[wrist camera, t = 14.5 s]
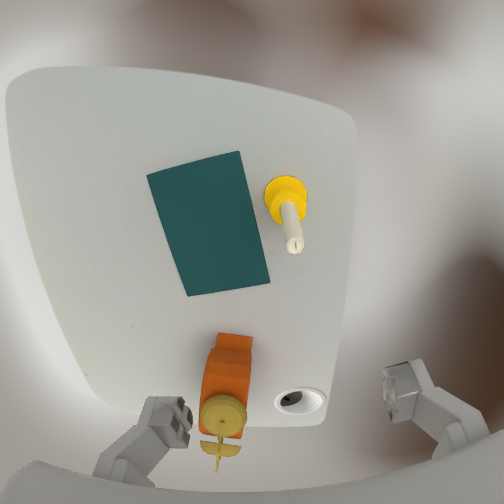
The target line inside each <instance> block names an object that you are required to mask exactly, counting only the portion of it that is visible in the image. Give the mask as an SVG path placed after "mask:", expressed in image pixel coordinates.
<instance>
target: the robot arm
mask: <svg viewBox="0 0 504 504" xmlns="http://www.w3.org/2000/svg"><path fill="white" fill-rule="evenodd" d="M383 375H384V378H385V379H384V380H383V395H384V399H385V403H387V404H388V405H389V408H388V413H389V416H390V419H391V423H392V424H395V423H399V422H403V421H407V420H410V419H412V421H413V422H415V423H416V424H417V425H418V426H419V427H421V428H422V429H423V430H424V431H425V432H427V433H428V434H429V435H430V436H431V437H433V438H434V439H435V440H436V441H437V442H439V443H438V445H437V447H436V449H435V452H434V453H433V455H432V460H429V461H426V462H423V463H420V464H417V465H413V466H410V467H407V468H403V469H400V470H396V471H393V472H389V473H385V474H381V475H377V476H373V477H368V478H364V479H359V480H354V481H349V482H344V483H338V484H332V485H326V486H319V487H311V488H303V489H294V490H282V491H268V492H241V493H240V492H238V493H237V492H234V493H233V492H231V493H230V492H229V493H228V492H198V491H197V492H196V491H182V490H171V489H163V488H154V487H155V485H154V483H153V482H152V481H151V480H149V479H148V478H147V477H146V476H147V475H148V474H149V473H150V472H151V471H152V470H153V468H154V467H155V466H156V465H157V464H158V462H159V461H160V460H161V459H162V458H163V457H164V455H165V454H166V453H167V452H168V451H169V448H188V444H189V439H190V435H189V433H188V431H189V430H190V429H191V428H192V424H193V415H192V412H191V410H190V408H189V407H187V406H185V405H184V404H185V401H184V399H183V398H182V397H148V398H147V399H146V401H145V404H144V407H143V410H142V413H141V415H140V418H139V421H138V424H137V425H134V426H133V427H132V428H131V429H129V430H128V431H127V432H126V433H125V434H124V435H123V436H121V437H120V438H119V439H118V440H117V441H115V442H114V443H113V444H112V445H111V446H110V447H108V448H107V449H106V450H105V451H104V452H102V453H101V455H100V457H99V459H98V461H97V464H96V467H95V470H94V472H93V475H92V476H90V475H86V474H82V473H78V472H74V471H71V470H67V469H64V468H60V467H57V466H53V465H51V464H48V463H45V462H41V461H37V460H35V461H32V462H30V463H28V464H27V465H26V466H24V467H22V468H21V469H19V470H18V471H16V472H15V473H14V474H13V475H12V476H11V477H10V479H9V480H8V482H7V483H6V485H5V487H4V489H3V491H2V493H1V495H0V504H504V429H502V430H500V431H498V432H496V433H494V434H492V435H491V434H490V432H489V430H488V428H487V426H486V423H485V421H484V419H483V417H482V415H481V412H480V411H479V410H477V409H475V408H473V407H472V406H470V405H468V404H466V403H465V402H463V401H462V400H459V399H458V398H456V397H454V396H453V395H451V394H449V393H448V392H446V391H445V390H443V389H441V388H439V387H434V385H433V383H432V381H431V378H430V376H429V374H428V372H427V370H426V368H425V366H424V363H423V362H422V360H421V359H420V358H419V359H415V360H412V361H409V362H404V363H400V364H397V365H393V366H389V367H386V368H384V372H383Z"/></svg>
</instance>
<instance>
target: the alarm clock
mask: <svg viewBox="0 0 504 504" xmlns="http://www.w3.org/2000/svg"><path fill="white" fill-rule="evenodd" d="M251 347H252V337H246V336H238V335H231V334H224V333H218V336H217V342H216V348H215V349H211V351H210V353H209V355H208V359H207V362H206V367H205V372H204V377H203V383H202V389H201V397H200V406H199V422H198V423H199V431H200V432H201V433H203V434H206V435H212V436H218V440H219V443H213V442H207V441H200V444H201V448H202V449H203V451H204V452H206V453H208V454H211V455H217V459H216V471H215V472H218V466H219V460H220V458H221V456H225V457H226V456H227V457H231V456H235V455H236V454H237V453H239V451H240V449H241V446H236V445H228V444H222V443H223V437H227V438H235V439H241V436H242V432H243V427H244V426H245V424H246V421H247V412H246V407H247V399H248V391H249V382H250V372H251Z"/></svg>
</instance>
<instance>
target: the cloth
mask: <svg viewBox="0 0 504 504" xmlns="http://www.w3.org/2000/svg"><path fill="white" fill-rule="evenodd" d="M147 179H148V182H149V186H150V189H151V192H152V195H153V198H154V202H155V205H156V208H157V211H158V214H159V217H160V220H161V223H162V226H163V229H164V232H165V235H166V238H167V241H168V244H169V247H170V249H171V252H172V255H173V258H174V261H175V263H176V266H177V269H178V272H179V274H180V277H181V280H182V283H183V285H184V288H185V291H186V293H187V296H195V295H201V294H207V293H214V292H220V291H226V290H232V289H238V288H244V287H250V286H256V285H262V284H267V283H270V279H269V274H268V270H267V266H266V262H265V257H264V253H263V249H262V245H261V240H260V236H259V232H258V228H257V224H256V219H255V215H254V211H253V207H252V203H251V198H250V194H249V190H248V186H247V182H246V178H245V174H244V170H243V165H242V161H241V157H240V153H239V151H235V152H231V153H227V154H223V155H218V156H214V157H210V158H206V159H203V160H199V161H195V162H191V163H187V164H184V165H180V166H176V167H173V168H169V169H166V170H162V171H159V172H156V173H152V174H149V175H147Z"/></svg>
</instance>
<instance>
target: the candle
mask: <svg viewBox="0 0 504 504" xmlns="http://www.w3.org/2000/svg"><path fill="white" fill-rule="evenodd" d="M264 200H265V204H266V206H267V208H268V209H269V210H270V213H271V216H272V218H273V219H274V220H275V221H276V222H277V223H278V224H280V225H283V231H284V238H285V243H286V248H287V251H288V252H289V253H291V254H299V253H300V252H302V250H303V249H304V236H303V232H302V228H301V224H300V221H302V220H303V218H304V216H305V214H306V202H307V192H306V188H305V187H304V185H303V183H302V182H301V181H300V180H298V179H297V178H295V177H292V176H279V177H276V178H275V179H273V180H272V181H271V182H270V183H269V184H268V185H267V187H266V189H265V193H264Z"/></svg>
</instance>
